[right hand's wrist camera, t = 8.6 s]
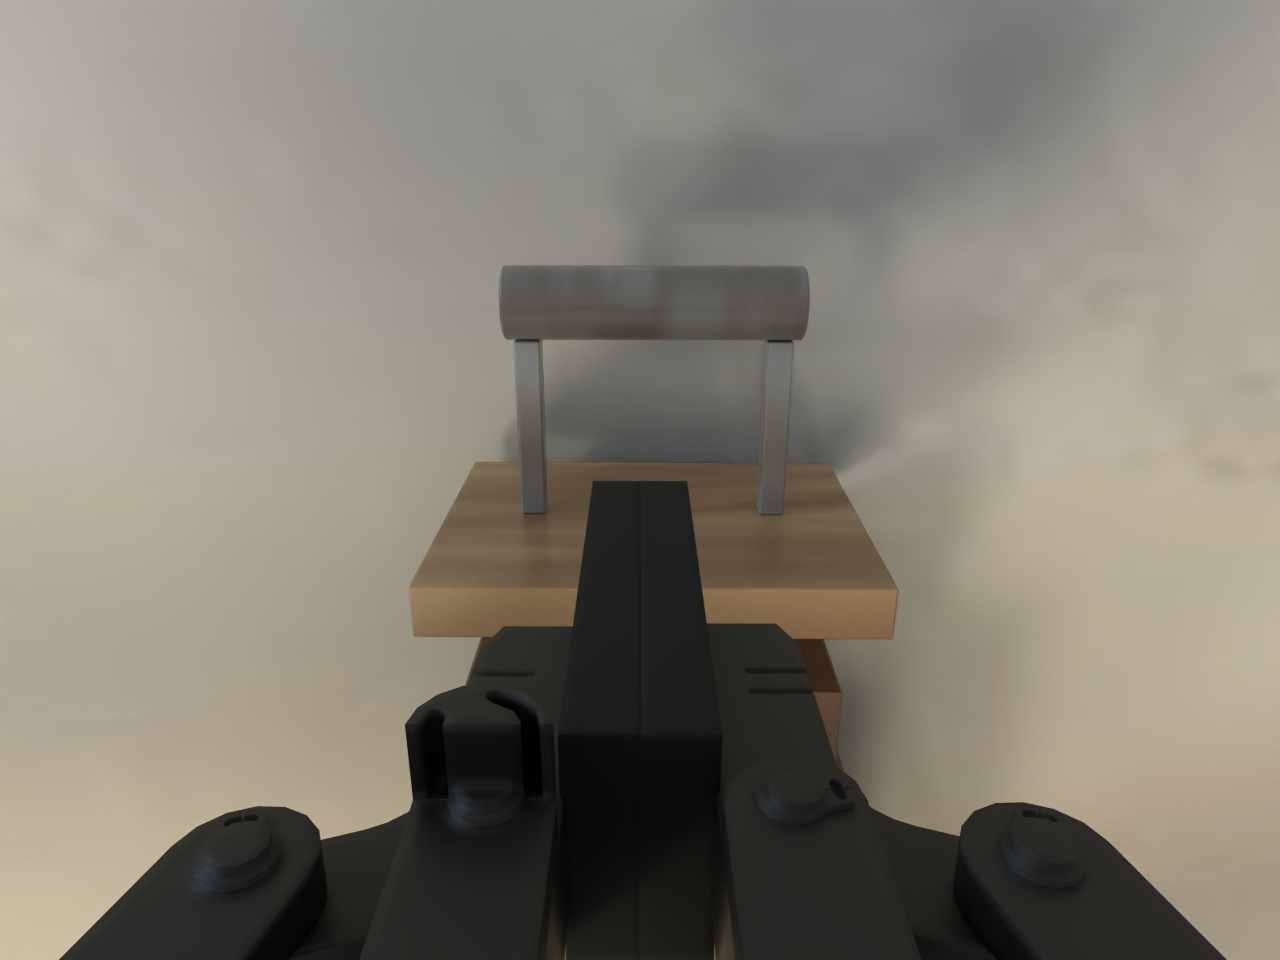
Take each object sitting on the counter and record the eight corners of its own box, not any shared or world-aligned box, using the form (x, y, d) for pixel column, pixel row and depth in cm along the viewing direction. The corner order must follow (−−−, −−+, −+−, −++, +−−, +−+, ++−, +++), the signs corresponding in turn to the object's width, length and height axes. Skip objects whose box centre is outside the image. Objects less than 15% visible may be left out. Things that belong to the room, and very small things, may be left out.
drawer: (460, 247, 24) (379, 295, 17) (846, 248, 24) (932, 296, 16) (510, 993, 33) (472, 1231, 26) (787, 996, 33) (825, 1235, 26)
